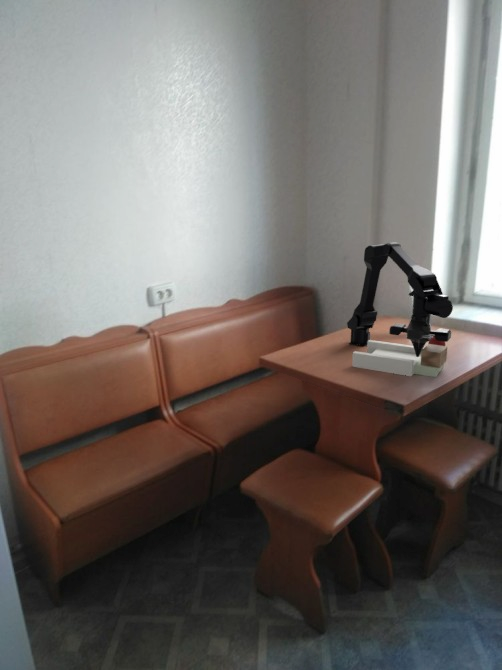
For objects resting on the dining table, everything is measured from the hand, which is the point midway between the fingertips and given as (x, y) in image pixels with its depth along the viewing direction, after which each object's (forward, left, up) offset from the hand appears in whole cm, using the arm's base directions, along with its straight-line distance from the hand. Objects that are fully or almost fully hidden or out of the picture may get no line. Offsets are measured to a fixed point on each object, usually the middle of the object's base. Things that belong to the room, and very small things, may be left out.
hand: (417, 356), depth 167 cm
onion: (+2, +18, -4) cm, 19 cm away
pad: (+4, 0, -4) cm, 6 cm away
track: (-10, 0, -4) cm, 11 cm away
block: (+5, 0, -1) cm, 5 cm away
